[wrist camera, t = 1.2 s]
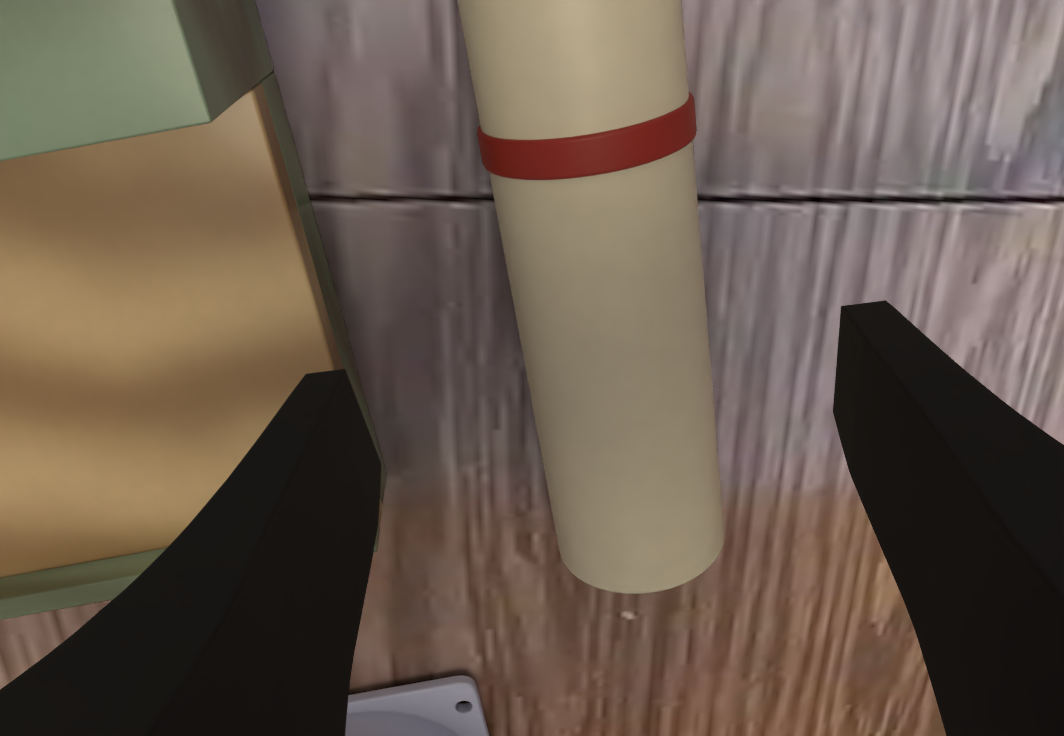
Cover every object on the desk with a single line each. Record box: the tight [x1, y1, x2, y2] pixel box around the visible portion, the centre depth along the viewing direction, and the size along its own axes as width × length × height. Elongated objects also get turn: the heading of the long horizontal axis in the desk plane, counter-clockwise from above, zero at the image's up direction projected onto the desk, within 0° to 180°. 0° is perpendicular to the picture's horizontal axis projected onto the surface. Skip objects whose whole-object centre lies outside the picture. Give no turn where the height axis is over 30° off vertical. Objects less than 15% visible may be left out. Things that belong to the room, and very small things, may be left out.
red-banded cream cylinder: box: [457, 0, 724, 594], centre depth 21 cm, size 15×5×5 cm, turn 9°
